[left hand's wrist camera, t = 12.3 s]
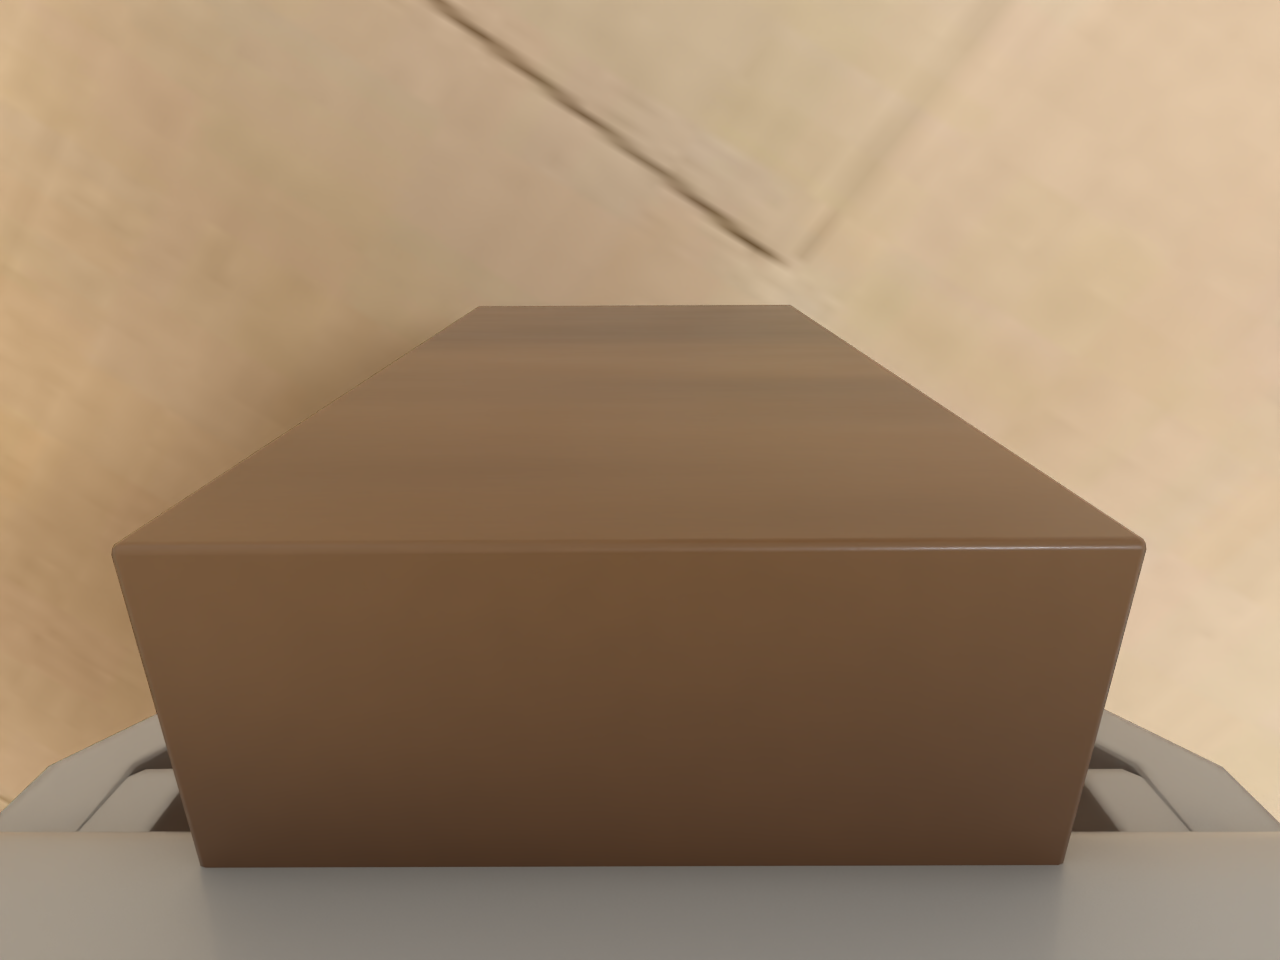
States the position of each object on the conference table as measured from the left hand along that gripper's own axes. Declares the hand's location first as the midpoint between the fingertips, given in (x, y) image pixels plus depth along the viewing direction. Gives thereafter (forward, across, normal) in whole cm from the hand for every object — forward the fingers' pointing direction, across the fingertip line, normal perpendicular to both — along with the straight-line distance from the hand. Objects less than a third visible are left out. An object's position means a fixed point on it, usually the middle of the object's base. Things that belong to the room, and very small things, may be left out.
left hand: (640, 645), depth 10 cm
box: (+5, 0, -10) cm, 11 cm away
